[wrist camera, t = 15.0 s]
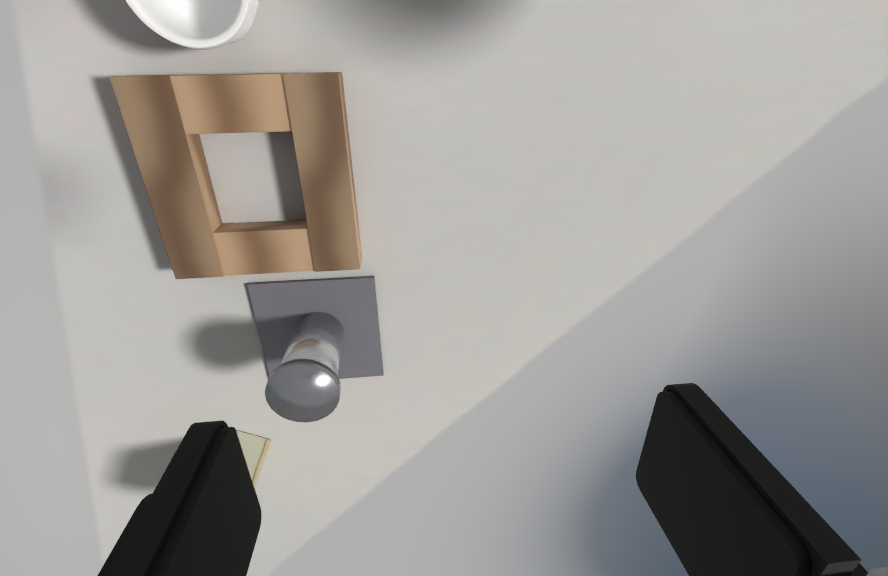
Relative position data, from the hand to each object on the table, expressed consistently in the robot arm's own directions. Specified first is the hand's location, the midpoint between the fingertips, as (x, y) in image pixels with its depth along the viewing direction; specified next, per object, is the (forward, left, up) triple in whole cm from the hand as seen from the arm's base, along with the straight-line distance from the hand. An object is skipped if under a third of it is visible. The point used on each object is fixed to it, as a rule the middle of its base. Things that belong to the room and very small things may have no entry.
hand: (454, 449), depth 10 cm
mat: (+10, +17, -32) cm, 38 cm away
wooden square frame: (+13, +1, -32) cm, 35 cm away
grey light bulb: (+10, +17, -32) cm, 37 cm away
